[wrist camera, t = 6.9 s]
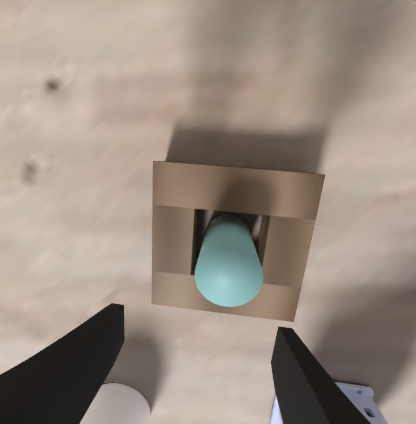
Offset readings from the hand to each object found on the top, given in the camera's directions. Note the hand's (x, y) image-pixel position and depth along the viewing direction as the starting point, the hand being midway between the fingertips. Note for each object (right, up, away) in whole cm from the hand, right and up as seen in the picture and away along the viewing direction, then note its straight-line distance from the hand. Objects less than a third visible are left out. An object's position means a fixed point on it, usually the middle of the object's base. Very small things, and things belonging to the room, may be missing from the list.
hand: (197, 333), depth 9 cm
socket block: (+2, +4, +9) cm, 10 cm away
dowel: (+2, +3, +9) cm, 10 cm away
